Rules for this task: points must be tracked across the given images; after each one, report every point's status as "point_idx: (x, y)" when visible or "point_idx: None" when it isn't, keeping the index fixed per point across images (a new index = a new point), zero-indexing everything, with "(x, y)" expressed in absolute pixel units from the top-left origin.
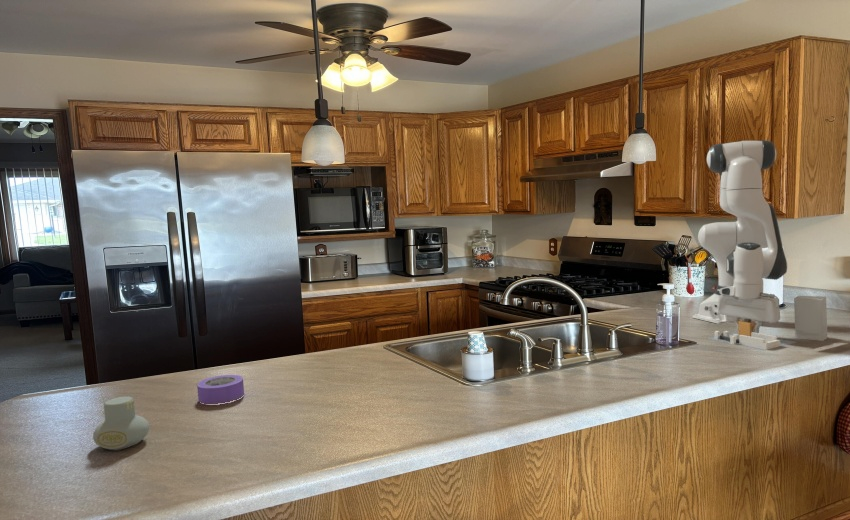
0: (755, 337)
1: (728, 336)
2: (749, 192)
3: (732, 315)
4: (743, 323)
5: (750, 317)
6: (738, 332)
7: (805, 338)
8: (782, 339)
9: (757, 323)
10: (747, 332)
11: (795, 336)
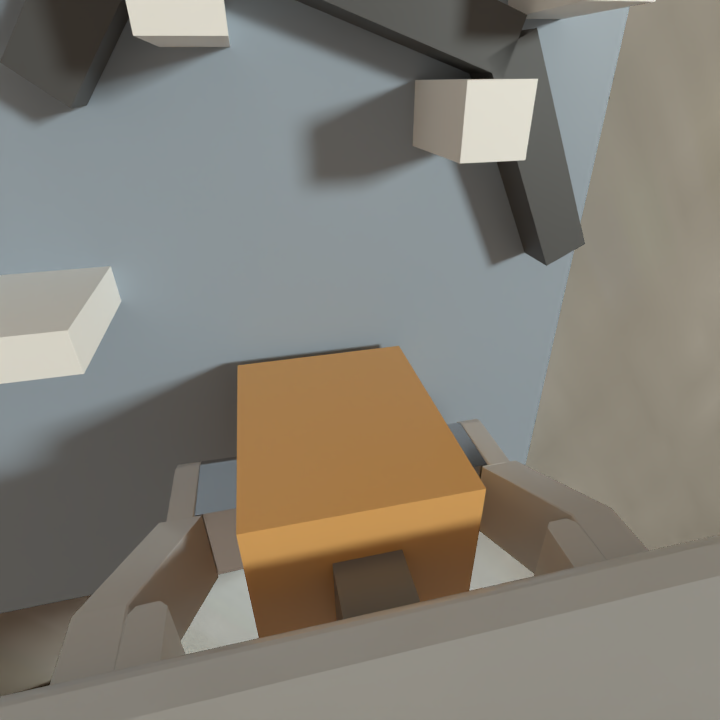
0: (2, 303)
1: (426, 135)
2: None
3: (687, 555)
4: (374, 489)
5: (228, 688)
6: (412, 369)
7: None
8: (58, 599)
9: (102, 613)
10: (274, 403)
11: None
